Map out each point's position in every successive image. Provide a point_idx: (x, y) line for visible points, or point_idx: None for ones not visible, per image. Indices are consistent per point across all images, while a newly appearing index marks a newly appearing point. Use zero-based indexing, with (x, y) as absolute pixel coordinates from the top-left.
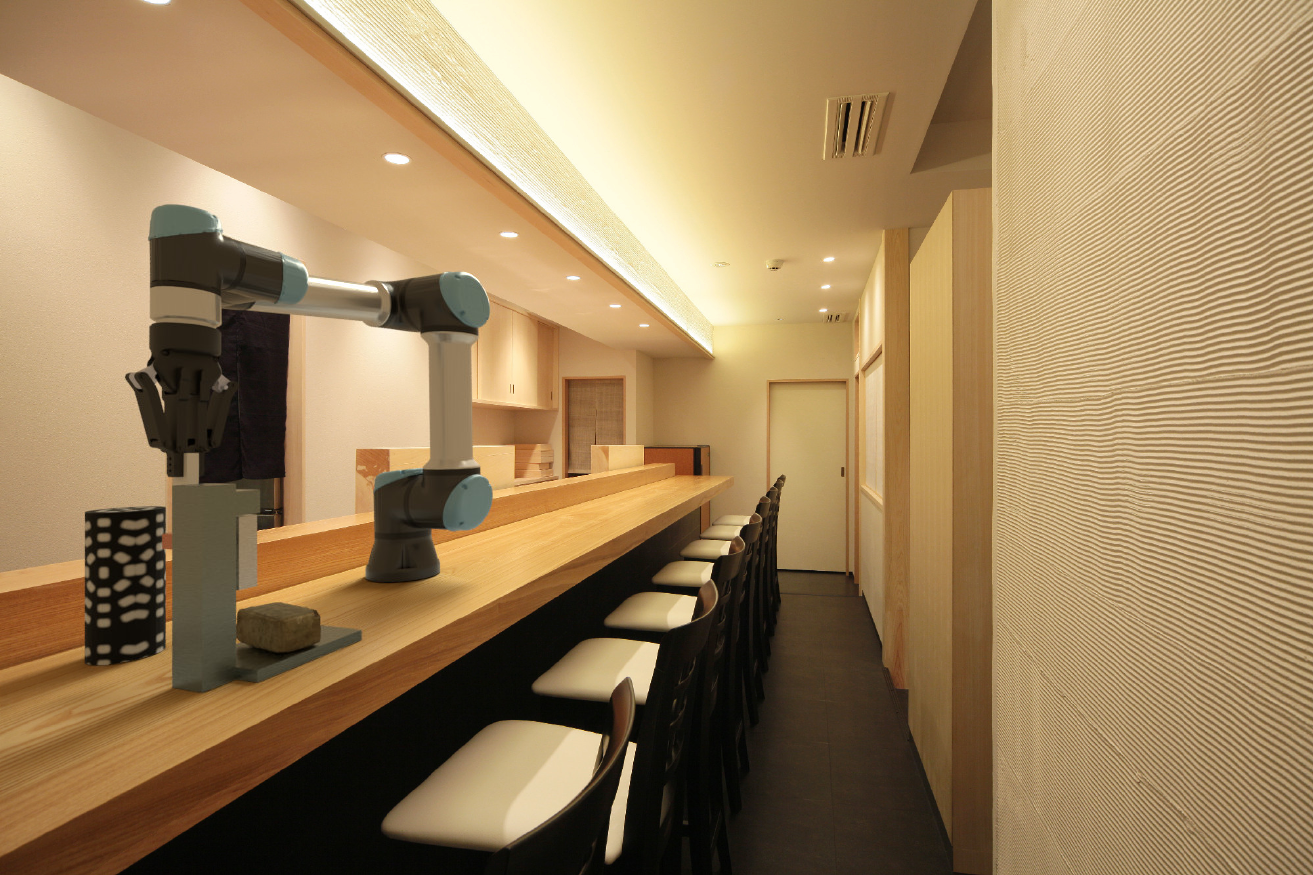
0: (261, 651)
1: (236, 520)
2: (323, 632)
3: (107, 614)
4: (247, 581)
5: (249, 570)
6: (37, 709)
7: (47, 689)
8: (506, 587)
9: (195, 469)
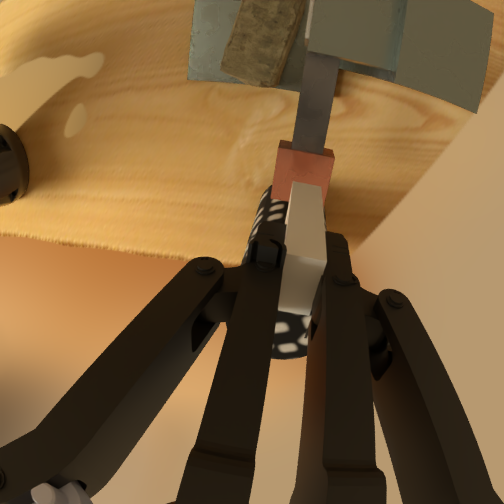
0: None
1: None
2: (216, 17)
3: (324, 224)
4: None
5: None
6: (419, 158)
7: (380, 193)
8: (9, 8)
9: (298, 223)
